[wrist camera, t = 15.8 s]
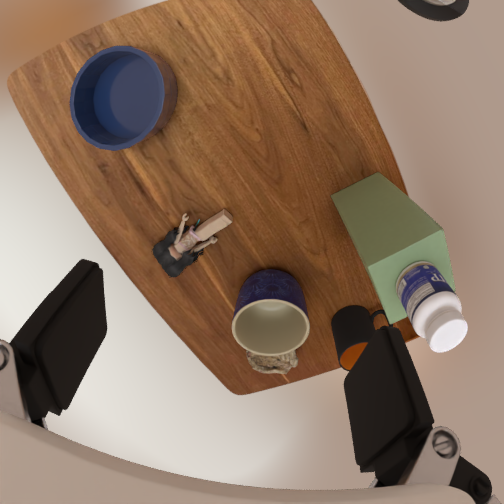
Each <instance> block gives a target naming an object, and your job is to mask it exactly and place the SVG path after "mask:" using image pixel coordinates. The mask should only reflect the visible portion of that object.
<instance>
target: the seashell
mask: <svg viewBox="0 0 504 504" xmlns="http://www.w3.org/2000/svg"><path fill="white" fill-rule="evenodd" d="M246 353H248V354H247V359H248V361H249V363H250V365H251V366H252V368H253V369H255V370H257V371H259V372H262V373H280V374H287V373H288V371H289V370H290V368H291V367H296V365H297V364H298V358H297V356H296V352H295V350H293V351H291V352H289V353H286V354H283V355H278V356H264V355H259V354H255V353H252V352H250V351H248V350H247V351H246Z"/></svg>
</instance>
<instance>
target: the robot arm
mask: <svg viewBox="0 0 504 504" xmlns="http://www.w3.org/2000/svg"><path fill="white" fill-rule="evenodd" d="M423 1H425V2H428V3H430V4H433V5H437V6H444V5H449V4H451V3H453V2H455V0H423ZM106 333H107V321H106V310H105V297H104V283H103V270H102V269H101V268H99V265H98V263H95V262H92V261H89V260H85V259H82V260H80V261H79V262H78V263H77V264H76V266H74V267H73V269H72V270H71V271H70V272H69V273H68V274H67V275H66V276H65V277H64V279H63V280H62V281H61V282H60V283H59V284H58V285H57V287H56V288H55V289H54V290H53V291H52V292H51V293H49V294H48V296H47V297H46V298H45V299H44V300H43V302H42V303H41V304H40V305H39V306H38V308H37V309H36V310H35V311H34V313H33V314H32V315H31V316H30V317H29V319H28V320H27V321H26V322H25V324H24V325H23V326H22V328H21V329H20V330H19V332H18V333H17V334H16V336H15V337H14V338H13V339H12V341H11V342H10V343H8V342H6V341H4V340H1V339H0V504H501V503H500V501H499V500H498V499H497V498H496V496H495V495H492V496H491V493H492V486H491V482H490V480H489V478H488V476H487V475H486V474H484V473H483V472H482V471H480V470H479V469H478V468H476V467H475V466H473V465H472V464H471V463H469V462H468V461H467V460H465V459H464V458H463V457H461V456H460V451H461V446H460V441H459V439H458V437H457V435H456V434H455V433H454V432H453V431H452V430H450V429H449V428H447V427H442V426H439V427H435V428H434V429H433V427H432V424H433V423H434V419H433V416H432V413H431V410H430V407H429V404H428V401H427V398H426V396H425V393H424V391H423V388H422V385H421V382H420V380H419V377H418V374H417V372H416V369H415V367H414V364H413V361H412V359H411V356H410V354H409V351H408V349H407V347H406V344H405V342H404V339H403V337H402V335H401V332H400V330H399V329H398V328H395V327H388V326H382V327H381V328H380V329H377V330H376V331H375V332H374V334H373V336H372V337H371V339H370V340H369V342H368V344H367V345H366V347H365V348H364V350H363V352H362V353H361V355H360V356H359V358H358V359H357V361H356V362H355V364H354V365H353V367H352V368H351V370H350V371H349V373H348V374H347V376H346V378H345V381H344V390H345V395H346V401H347V407H348V413H349V419H350V425H351V432H352V438H353V446H354V453H355V460H356V463H357V465H360V470H361V473H363V472H374V471H375V476H376V477H375V479H374V480H373V482H372V483H371V485H370V486H369V488H364V489H346V490H290V489H273V488H260V487H251V486H241V485H234V484H227V483H220V482H214V481H208V480H203V479H197V478H192V477H188V476H183V475H178V474H174V473H170V472H166V471H162V470H158V469H154V468H150V467H147V466H143V465H140V464H136V463H132V462H130V461H126V460H123V459H120V458H117V457H114V456H111V455H109V454H106V453H103V452H100V451H97V450H95V449H92V448H89V447H87V446H84V445H82V444H79V443H76V442H74V441H72V440H69V439H67V438H65V437H62V436H60V435H58V434H55V433H53V432H51V431H49V430H48V428H47V425H46V421H45V417H46V415H47V413H48V411H50V412H52V413H54V414H56V415H58V416H60V414H61V412H62V410H63V409H64V410H66V409H67V408H68V407H69V405H70V403H71V401H72V399H73V397H74V395H75V393H76V391H77V389H78V387H79V385H80V383H81V381H82V379H83V377H84V375H85V373H86V371H87V369H88V367H89V366H90V363H91V362H92V360H93V358H94V356H95V354H96V352H97V351H98V349H99V347H100V345H101V343H102V341H103V340H104V338H105V336H106Z"/></svg>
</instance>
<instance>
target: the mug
mask: <svg viewBox="0 0 504 504" xmlns="http://www.w3.org/2000/svg"><path fill="white" fill-rule="evenodd" d="M380 313H381V314H384V315H385V317H386V319H387V316H386V314H385V311H384V310H378V311H375V312H374V313H373V314H372V315H371V316H370V314H369V312H368V311H367V310H366V309H365V308H364V307H361V306H348V307H345V308H343V309H341V310H340V311H338V312H337V313H336V314H335V315H334V317H333V319H332V322H331V326H332V331H333V336H334V340H335V345H336V350H337V355H338V360H339V364H340V366H341V367H342V368H343V369H344V370H347V371H350V370H351V368H352V367H353V365H354V364H355V362H356V361H357V359H358V358H359V356H360V355H361V353H362V352H363V350H364V348H365V347H366V345H367V344H368V342H369V340H370V339H371V337H372V336H373V334H374V332H375V331H376V330H375V328H374V325H373V320H374V317H375V316H376V315H378V314H380ZM387 322H388V324H389V327H393V323H392V324H390V323H389V321H388V319H387Z"/></svg>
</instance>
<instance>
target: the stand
mask: <svg viewBox="0 0 504 504" xmlns="http://www.w3.org/2000/svg"><path fill="white" fill-rule="evenodd" d="M331 198H332V200H333V202H334V204H335V206H336V208H337V210H338V212H339V214H340V216H341V219H342V221H343V223H344V225H345V227H346V229H347V231H348V233H349V235H350V238H351V240H352V242H353V244H354V246H355V248H356V250H357V252H358V254H359V256H360V258H361V260H362V263H363V265H364V267H365V269H366V271H367V273H368V275H369V278H370V280H371V282H372V284H373V286H374V289H375V291H376V293H377V295H378V298H379V300H380V302H381V304H382V307H383V309H384V311H385V314H386V316H387V319H388V321H389V323H390V324H392V323H395V322H397V321H399V320H401V319H403V318H405V317H407V316H408V315H407V313H406V311H405V309H404V307H403V305H402V303H401V301H400V300H399V297H398V295H397V293H396V283H397V279H398V277H399V275H400V274H401V273H402V271H403V270H404V269H405V268H407V267H408V266H409V265H411V264H413V263H416V262H420V261H426V262H430V263H432V264H433V265H434V266H435V267H436V268H437V269H438V271H439V272H440V273H441V275H442V276H443V277H444V279H445V280H446V281H447V283H448V284H449V286H450V287H451V288H452V290H453V291H454V292H455V284H454V279H453V273H452V268H451V263H450V258H449V253H448V248H447V244H446V240H445V235H444V231H443V228H442V227H441V226H440V225H438V223H436V222H435V221H434V220H433V219H432V218H431V217H430V216H429V215H428V214H427V213H426V212H424V211H423V210H422V209H421V208H420V207H419V206H418V205H417V204H416V203H415V202H413V201H412V200H411V199H410V198H409V197H408V196H407V195H406V194H404V193H403V192H402V191H401V190H400V189H399V188H397V187H396V186H395V185H394V184H393V183H391V182H390V181H389V180H388V179H387V178H385V177H384V176H383V175H382V174H380V173H379V172H377V173H375V174H373V175H371V176H369V177H367V178H365V179H363V180H361V181H359V182H357V183H355V184H353V185H351V186H349V187H347V188H345V189H343V190H341V191H339V192H337V193H335V194H333V195H331Z"/></svg>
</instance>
